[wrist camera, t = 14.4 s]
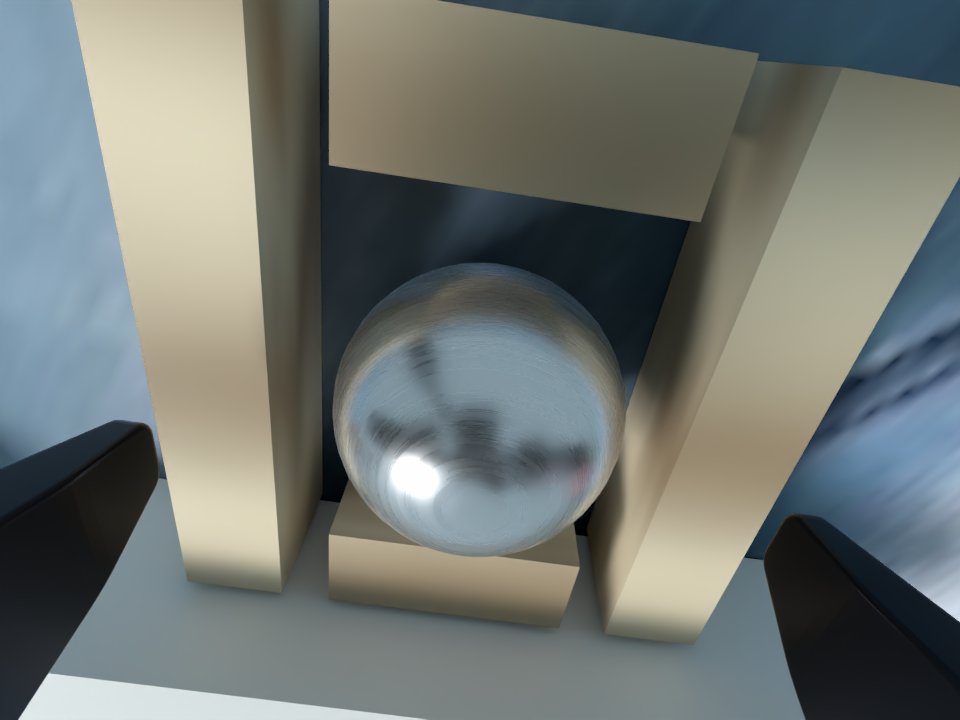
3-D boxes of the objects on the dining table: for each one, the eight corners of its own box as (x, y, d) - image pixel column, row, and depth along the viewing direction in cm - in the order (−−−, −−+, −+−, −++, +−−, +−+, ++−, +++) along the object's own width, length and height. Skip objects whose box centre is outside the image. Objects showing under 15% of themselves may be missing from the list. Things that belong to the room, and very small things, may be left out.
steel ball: (370, 207, 10) (284, 326, 6) (627, 245, 11) (717, 384, 6) (361, 417, 13) (296, 607, 9) (569, 443, 13) (606, 640, 9)
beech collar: (192, -32, 9) (58, -63, 6) (863, 79, 9) (1006, 94, 6) (245, 482, 14) (187, 581, 12) (660, 537, 15) (693, 645, 12)
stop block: (109, 471, 14) (-64, 659, 10) (781, 563, 15) (894, 776, 11) (126, 535, 15) (-22, 727, 11) (747, 617, 16) (836, 828, 12)
